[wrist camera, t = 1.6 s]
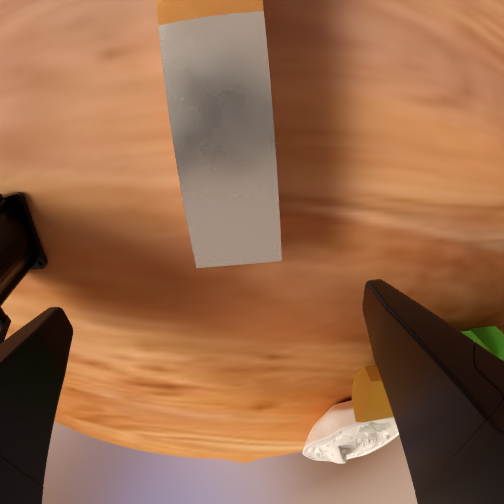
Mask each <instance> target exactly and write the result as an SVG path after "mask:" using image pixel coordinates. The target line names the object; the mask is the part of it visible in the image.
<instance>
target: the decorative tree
mask: <svg viewBox="0 0 504 504" xmlns="http://www.w3.org/2000/svg"><path fill="white" fill-rule="evenodd" d="M461 332H462V333H463V334H465V335H466V336H468V337H469V338H471V339H472V340H473V341H474V342H477V343H478V344H479V345H481V346H482V347H484V348H485V349H487V350H488V351H490V352H491V353H493V354H494V355H496V356H497V357H498V358H500V359H502V360H503V361H504V334H503V333H502V332H501V331H500V330H499V329H498V328H497V327H496V326H490V327H481V328H471V329H470V330H469V331H461ZM352 405H353V410H354V415H355V420H356V422H368V421H374V420H380V419H385V418H390V417H394V416H393V413H392V410H391V407H390V404H389V400H388V397H387V394H386V391H385V388H384V385H383V383H382V380H381V377H380V374H379V371H378V368H377V367H363V368H362V369H360V370H358V371H357V373H356V375H355V377H354V380H353V382H352Z"/></svg>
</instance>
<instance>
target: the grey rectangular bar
mask: <svg viewBox="0 0 504 504" xmlns="http://www.w3.org/2000/svg"><path fill="white" fill-rule="evenodd" d="M156 2H157V14H158V25H159V36H160V45H161V55H162V64H163V72H164V80H165V88H166V96H167V103H168V110H169V117H170V124H171V131H172V138H173V144H174V150H175V157H176V163H177V169H178V175H179V180H180V186H181V192H182V197H183V203H184V208H185V213H186V219H187V224H188V229H189V234H190V239H191V244H192V249H193V254H194V259H195V264H196V268H204V267H217V266H229V265H241V264H253V263H265V262H277V261H282V252H281V231H280V212H279V195H278V178H277V162H276V148H275V134H274V120H273V107H272V95H271V83H270V71H269V60H268V49H267V39H266V29H265V19H264V9H263V0H156Z"/></svg>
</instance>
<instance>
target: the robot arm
mask: <svg viewBox="0 0 504 504" xmlns="http://www.w3.org/2000/svg"><path fill="white" fill-rule="evenodd" d="M18 198H19V199H20V201H19V200H18ZM41 261H42V262H41ZM47 263H48V262H47V259H46V256H45V254H44V251H43V249H42V246H41V244H40V241H39V238H38V236H37V233H36V230H35V227H34V224H33V222H32V219H31V216H30V213H29V210H28V207H27V203H26V200H25V197H24V195H23V194H22V193H21V192H17V193H13V194H10V195H6V196H2V194H0V504H42V495H43V484H44V476H45V468H46V462H47V456H48V450H49V444H50V439H51V434H52V428H53V424H54V419H55V414H56V410H57V405H58V401H59V397H60V393H61V389H62V385H63V381H64V377H65V372H66V367H67V362H68V356H69V351H70V346H71V341H72V336H73V328H72V325H71V323H70V322H69V320H68V318H67V316H66V314H65V313H64V311H63V309H62V308H60V307H51V308H48V309H47V310H46V311H44V312H43V313H41V314H40V315H39V316H37V317H36V318H34V319H33V320H32V321H30V322H29V323H28V324H26V325H25V326H23V327H22V328H21V329H19V330H18V331H17V332H15V333H14V334H13V335H11V336H10V337H9V338H7V339H6V340H5V337H6V334H7V331H8V328H9V326H10V323H11V320H10V318H9V317H8V315H6V314H5V313H4V311H3V309H2V308H1V305H2V304H3V303H4V301H5V300H6V299H7V298H8V296H9V295H10V294H11V293H12V291H13V290H14V289H15V288H16V286H17V285H18V284H19V283H20V281H21V280H22V279H23V278H24V277H25V275H26V274H27V273H28V272H29V271H30V270H31V269H43V268H45V266H46V265H47ZM363 313H364V317H365V321H366V326H367V330H368V334H369V338H370V342H371V346H372V351H373V355H374V359H375V362H376V365H377V368H378V371H379V374H380V377H381V380H382V383H383V385H384V388H385V391H386V394H387V397H388V400H389V404H390V407H391V410H392V413H393V416H394V419H395V422H396V426H397V429H398V432H399V435H400V438H401V442H402V446H403V449H404V452H405V456H406V459H407V463H408V467H409V470H410V474H411V477H412V482H413V485H414V489H415V494H416V498H417V502H418V504H504V361H503V360H502V359H500V358H498V357H497V356H496V355H494V354H493V353H491V352H490V351H488V350H487V349H485V348H484V347H482V346H481V345H479V344H478V343H477V342H474V341H473V340H472V339H471V338H469V337H468V336H466V335H465V334H463V333H462V332H461V331H459V330H458V329H456V328H455V327H453V326H452V325H450V324H449V323H447V322H446V321H444V320H443V319H441V318H440V317H438V316H437V315H435V314H434V313H432V312H431V311H429V310H428V309H426V308H425V307H423V306H422V305H420V304H419V303H417V302H416V301H414V300H413V299H411V298H410V297H408V296H407V295H405V294H403V293H402V292H400V291H399V290H397V289H396V288H394V287H393V286H391V285H389V284H388V283H386V282H385V281H383V280H381V279H376V280H369V281H367V282H366V284H365V290H364V298H363ZM4 340H5V341H4Z"/></svg>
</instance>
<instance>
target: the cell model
mask: <svg viewBox="0 0 504 504" xmlns="http://www.w3.org/2000/svg"><path fill="white" fill-rule="evenodd" d="M397 436H399V432H398V429H397V426H396V422H395V419H394V417H390V418H385V419H380V420H374V421H368V422H356V420H355V415H354V410H353V405H352V400H351V401H346V402H343V403H338V404H335V405H333V406H332V407H330V408H329V410H328V411H327V412H326V413H325V414H324V415H323V416H322V417H321V418H319V419H318V420H317V422H316V423H315V425H314V426H313V428H312V429H311V431H310V433H309V435H308V437H307V440H306V443H305V446H304V449H303V452H302V453H303V455H304V456H306V457H308V458H310V459H313V460H317V461H332V462H335V463H339V464H340V463H341V464H342V463H346V462H347V459H350V458H354V457H359V456H363V455H366V454H368V453H371V452H373V451H375V450H377V449H379V448H381V447H383V446H384V445H386V444H387V443H389V442H390V441H392V440H393V439H394V438H396V437H397Z"/></svg>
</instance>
